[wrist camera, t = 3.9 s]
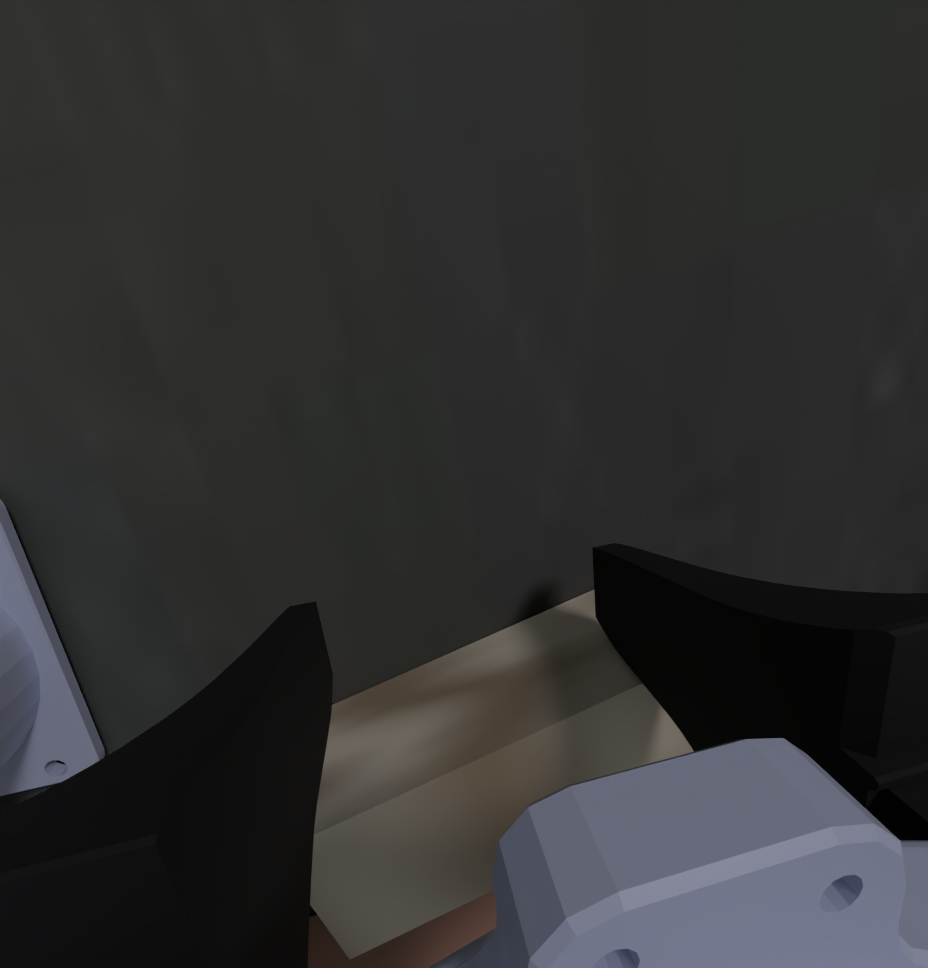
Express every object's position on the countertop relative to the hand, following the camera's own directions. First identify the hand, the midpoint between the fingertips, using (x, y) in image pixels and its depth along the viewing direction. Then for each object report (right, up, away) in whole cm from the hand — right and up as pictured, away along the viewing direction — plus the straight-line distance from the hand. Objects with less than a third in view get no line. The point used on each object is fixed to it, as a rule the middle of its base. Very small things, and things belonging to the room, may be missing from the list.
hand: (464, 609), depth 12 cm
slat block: (0, -4, +3) cm, 5 cm away
